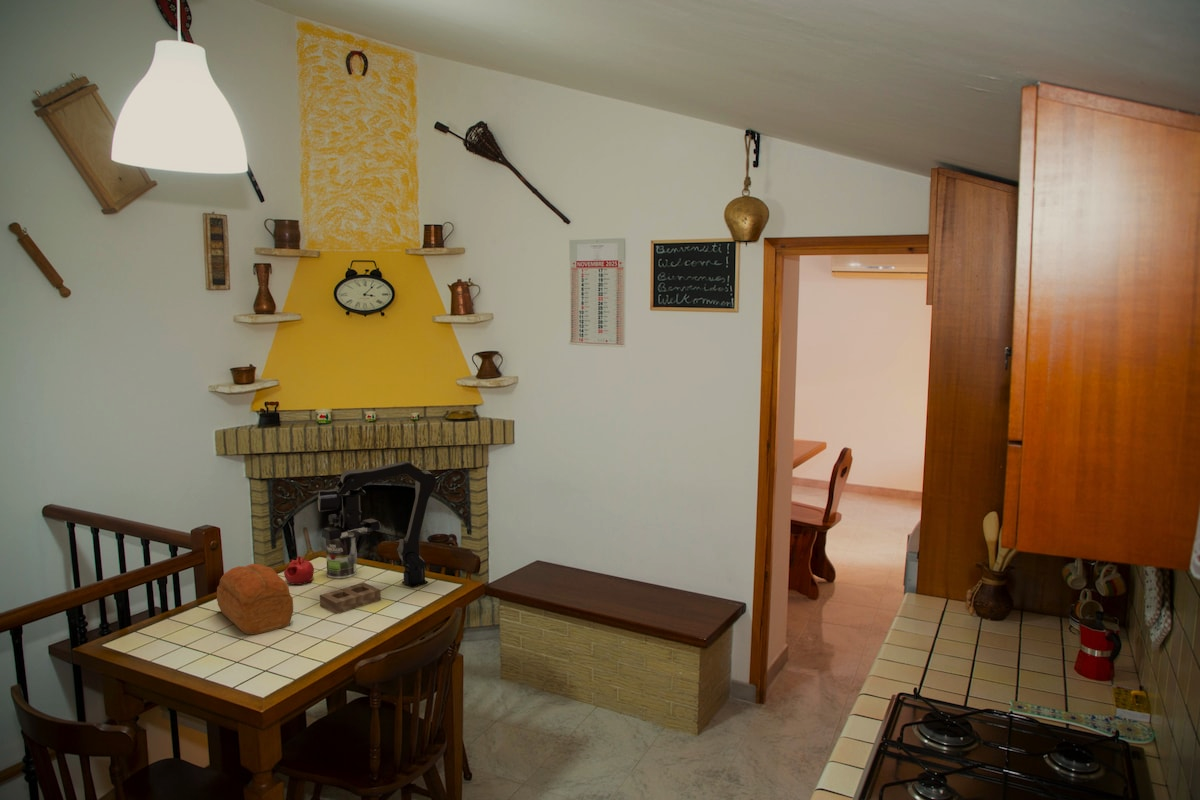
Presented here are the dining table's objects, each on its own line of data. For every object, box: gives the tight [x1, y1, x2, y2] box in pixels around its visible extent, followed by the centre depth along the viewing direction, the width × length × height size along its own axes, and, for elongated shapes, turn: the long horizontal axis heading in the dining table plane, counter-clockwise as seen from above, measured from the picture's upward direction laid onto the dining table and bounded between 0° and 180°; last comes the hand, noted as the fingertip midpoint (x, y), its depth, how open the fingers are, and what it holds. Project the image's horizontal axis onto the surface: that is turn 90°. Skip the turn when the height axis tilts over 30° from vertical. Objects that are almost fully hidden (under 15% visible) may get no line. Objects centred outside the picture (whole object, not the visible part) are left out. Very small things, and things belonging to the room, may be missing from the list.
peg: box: [348, 535, 358, 565], centre depth 273 cm, size 3×3×9 cm
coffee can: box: [325, 532, 357, 579], centre depth 291 cm, size 10×10×14 cm
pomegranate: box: [283, 555, 315, 585], centre depth 284 cm, size 10×10×9 cm
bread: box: [216, 563, 294, 635], centre depth 251 cm, size 16×27×16 cm, turn 41°
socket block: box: [319, 582, 382, 614], centre depth 265 cm, size 16×10×4 cm, turn 138°
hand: (352, 554), depth 273 cm, fingers closed on peg, 3 cm apart
